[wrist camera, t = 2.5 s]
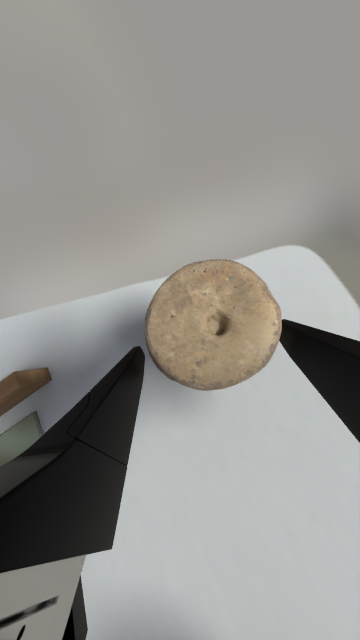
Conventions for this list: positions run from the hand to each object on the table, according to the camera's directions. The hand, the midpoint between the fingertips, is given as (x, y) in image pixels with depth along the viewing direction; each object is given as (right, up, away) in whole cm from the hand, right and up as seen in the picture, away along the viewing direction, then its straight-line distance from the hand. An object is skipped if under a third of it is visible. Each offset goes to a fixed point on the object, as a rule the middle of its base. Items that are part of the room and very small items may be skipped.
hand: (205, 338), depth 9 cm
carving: (+1, -1, +8) cm, 9 cm away
